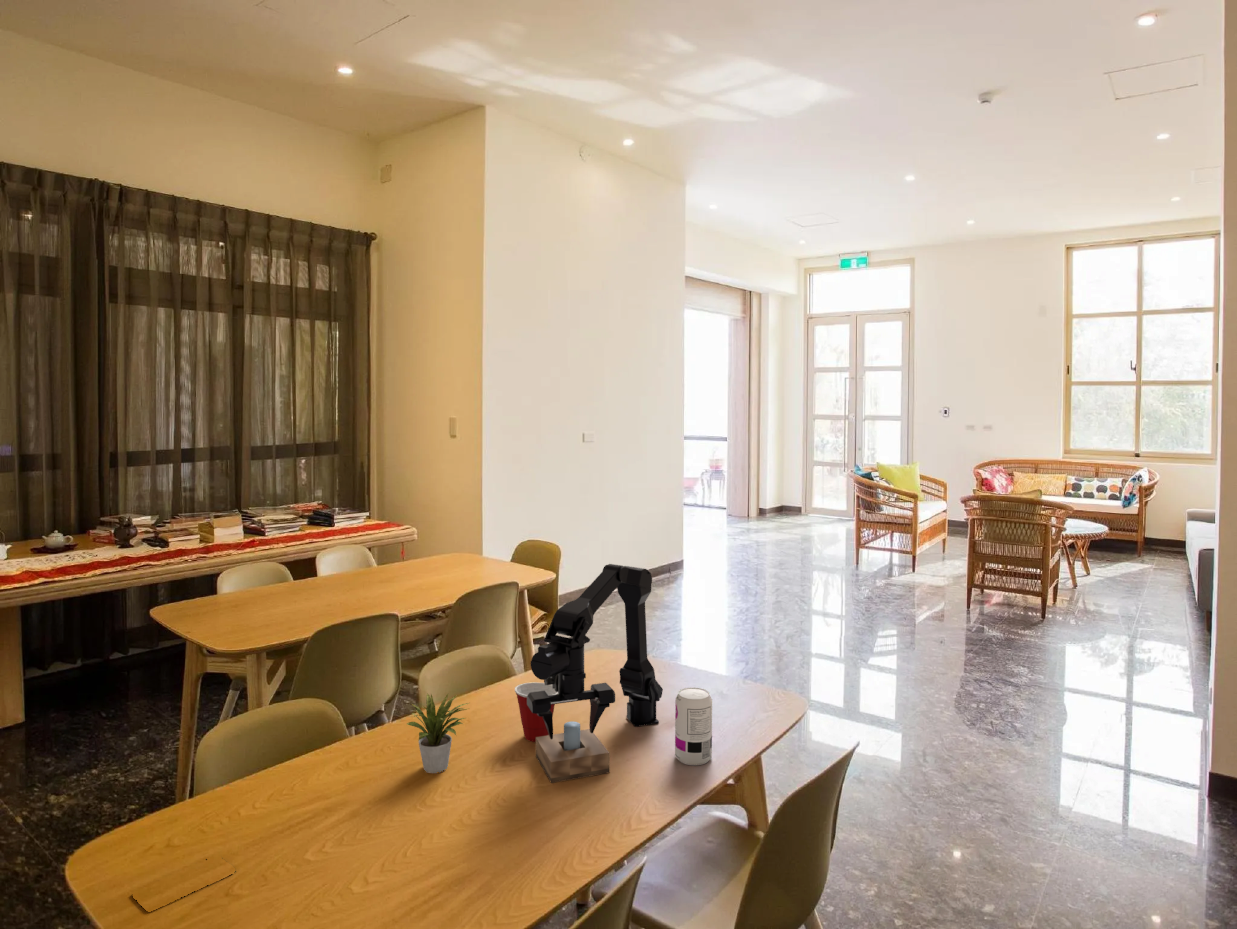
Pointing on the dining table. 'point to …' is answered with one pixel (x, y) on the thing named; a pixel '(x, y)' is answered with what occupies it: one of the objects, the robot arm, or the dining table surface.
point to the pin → (571, 736)
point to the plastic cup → (530, 721)
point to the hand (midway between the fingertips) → (571, 735)
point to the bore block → (572, 757)
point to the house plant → (436, 734)
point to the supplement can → (693, 726)
